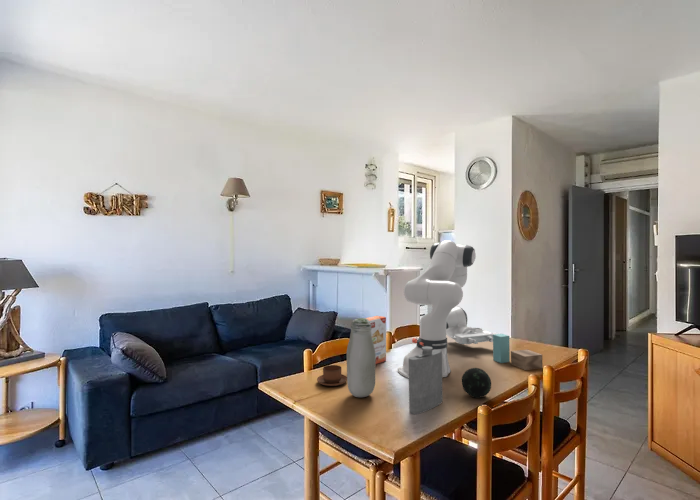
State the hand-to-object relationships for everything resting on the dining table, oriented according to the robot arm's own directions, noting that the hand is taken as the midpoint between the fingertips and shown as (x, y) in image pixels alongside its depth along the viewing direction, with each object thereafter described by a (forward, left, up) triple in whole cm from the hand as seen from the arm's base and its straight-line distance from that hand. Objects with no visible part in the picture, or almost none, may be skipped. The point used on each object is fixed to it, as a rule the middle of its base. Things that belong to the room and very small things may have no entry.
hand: (484, 341), depth 190 cm
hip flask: (-58, -44, -7) cm, 73 cm away
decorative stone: (-37, -42, -7) cm, 57 cm away
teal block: (0, -12, -7) cm, 13 cm away
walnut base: (+5, -22, -7) cm, 23 cm away
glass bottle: (-75, -27, -7) cm, 80 cm away
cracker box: (-56, +8, -7) cm, 57 cm away
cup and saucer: (-81, -10, -7) cm, 82 cm away
